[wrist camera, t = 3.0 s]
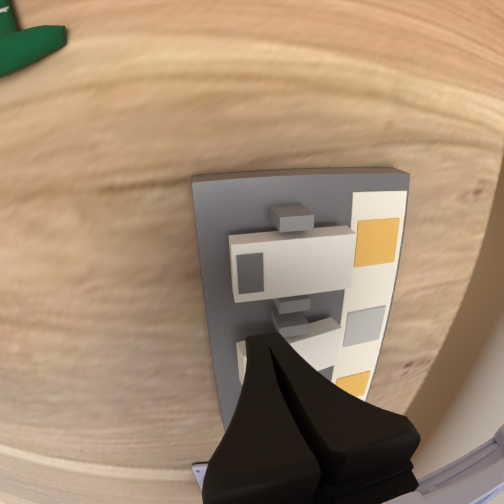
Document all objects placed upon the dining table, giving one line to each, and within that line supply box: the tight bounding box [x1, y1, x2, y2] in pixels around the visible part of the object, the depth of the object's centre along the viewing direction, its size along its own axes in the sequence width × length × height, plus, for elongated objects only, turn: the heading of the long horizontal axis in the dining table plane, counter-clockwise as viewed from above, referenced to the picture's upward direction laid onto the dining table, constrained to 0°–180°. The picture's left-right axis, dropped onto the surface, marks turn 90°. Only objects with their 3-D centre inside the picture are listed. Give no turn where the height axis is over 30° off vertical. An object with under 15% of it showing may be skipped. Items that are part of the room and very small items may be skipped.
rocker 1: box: [229, 225, 357, 303], centre depth 16 cm, size 3×6×1 cm, turn 92°
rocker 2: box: [236, 317, 342, 385], centre depth 18 cm, size 3×6×1 cm, turn 92°
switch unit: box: [192, 168, 410, 432], centre depth 20 cm, size 20×12×4 cm, turn 2°
